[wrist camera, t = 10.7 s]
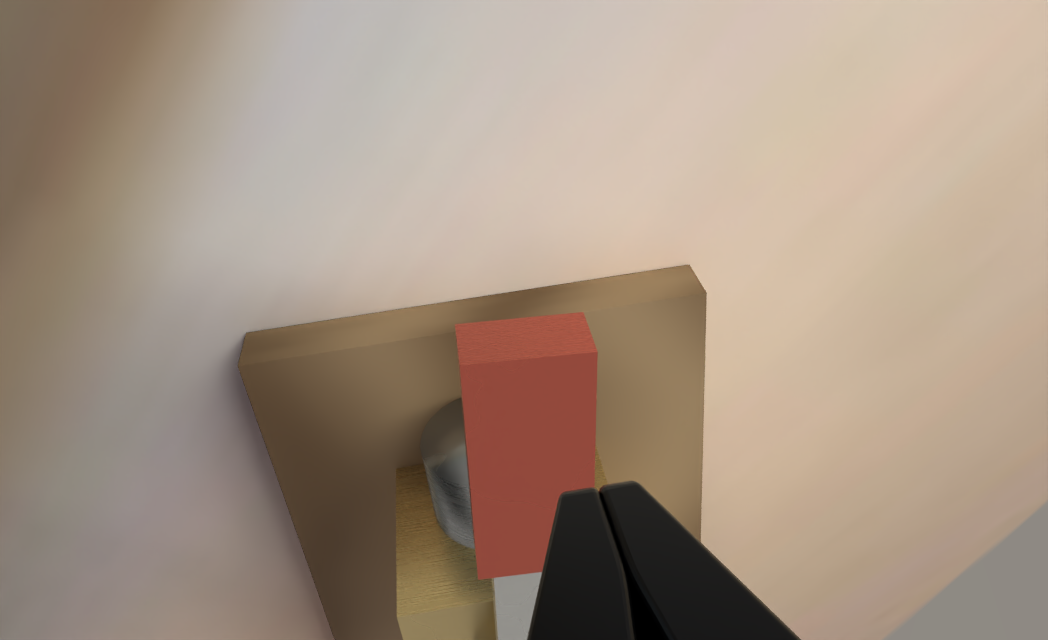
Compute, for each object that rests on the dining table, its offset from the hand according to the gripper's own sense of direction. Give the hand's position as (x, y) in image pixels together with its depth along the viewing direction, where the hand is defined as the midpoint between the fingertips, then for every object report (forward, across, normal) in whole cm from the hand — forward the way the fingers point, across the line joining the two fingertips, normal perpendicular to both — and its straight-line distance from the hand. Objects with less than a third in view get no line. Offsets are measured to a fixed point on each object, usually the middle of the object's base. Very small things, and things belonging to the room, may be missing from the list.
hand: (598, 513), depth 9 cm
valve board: (+13, +1, +12) cm, 18 cm away
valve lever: (+6, +1, +7) cm, 9 cm away
